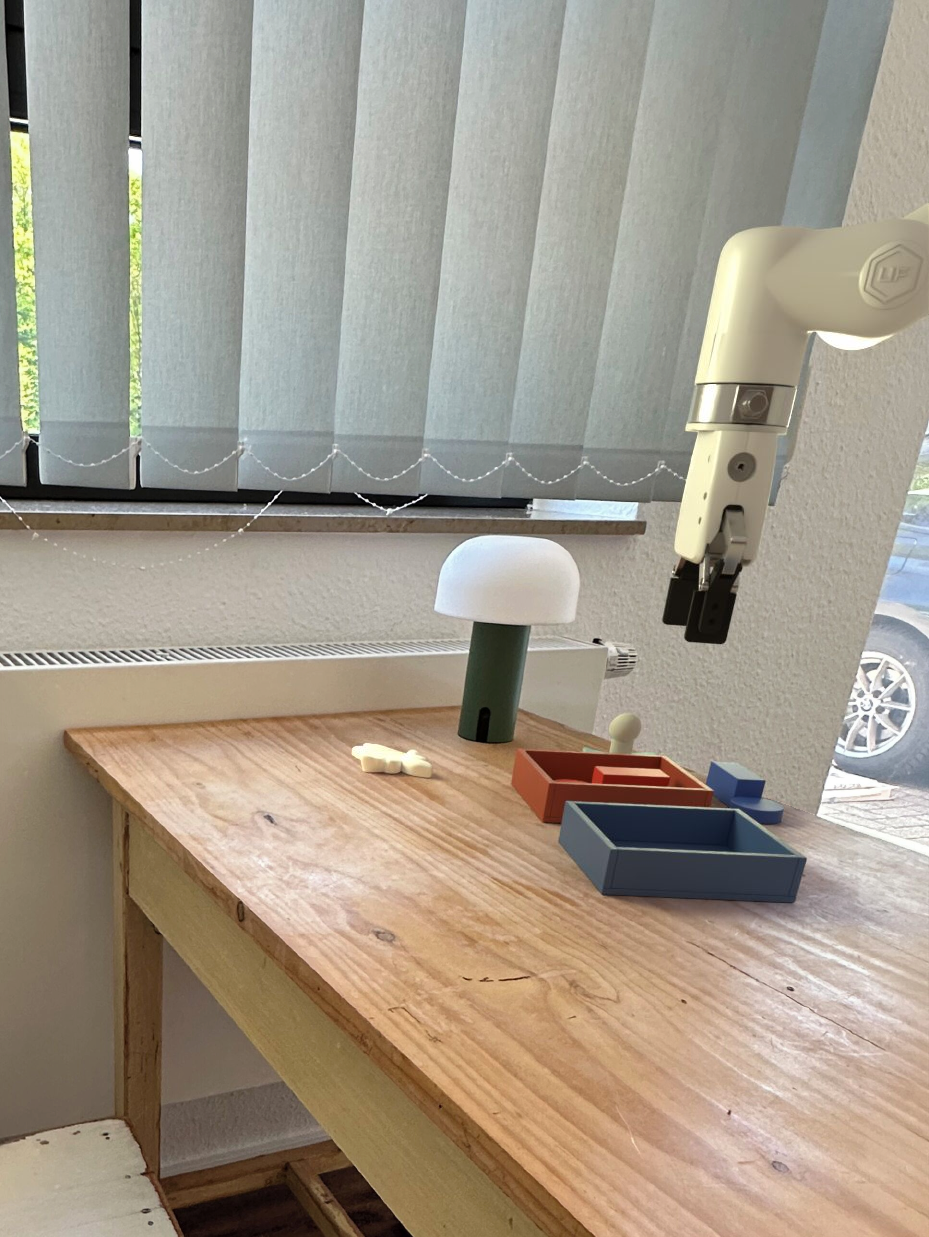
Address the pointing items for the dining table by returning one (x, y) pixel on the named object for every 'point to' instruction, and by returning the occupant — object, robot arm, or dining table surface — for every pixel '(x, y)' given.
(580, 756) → the red bin
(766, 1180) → the dining table surface
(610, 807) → the blue bin
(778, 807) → the blue disc paddle
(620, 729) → the pacifier
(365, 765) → the acanthus leaf ornament
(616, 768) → the red disc paddle
